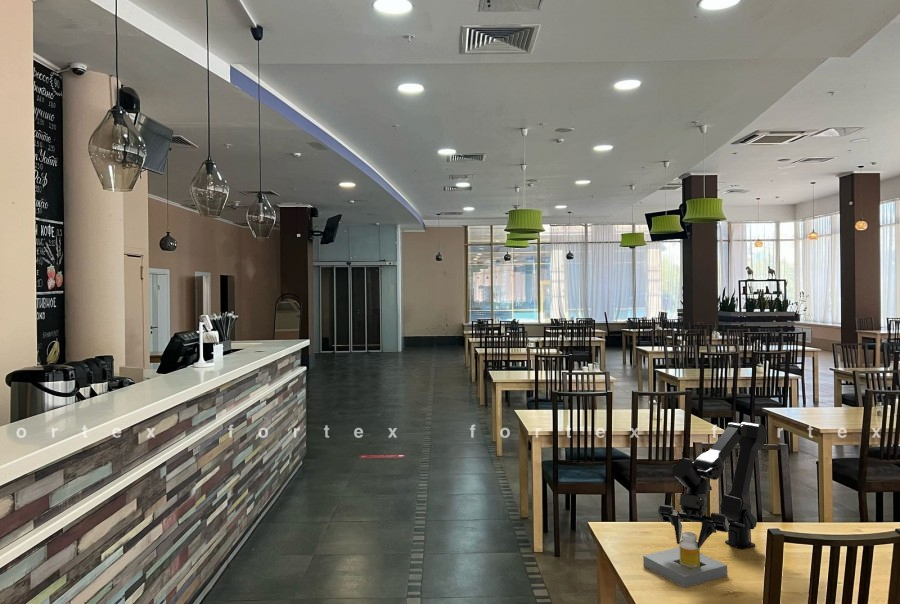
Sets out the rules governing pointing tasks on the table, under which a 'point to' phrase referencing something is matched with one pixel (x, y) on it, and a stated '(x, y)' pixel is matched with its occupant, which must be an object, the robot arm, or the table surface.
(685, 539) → the supplement bottle
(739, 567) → the table surface
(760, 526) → the table surface
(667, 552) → the holder
